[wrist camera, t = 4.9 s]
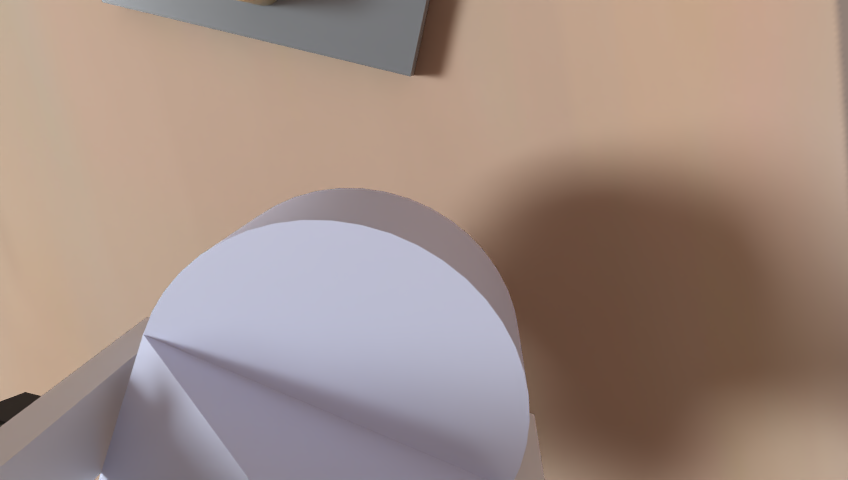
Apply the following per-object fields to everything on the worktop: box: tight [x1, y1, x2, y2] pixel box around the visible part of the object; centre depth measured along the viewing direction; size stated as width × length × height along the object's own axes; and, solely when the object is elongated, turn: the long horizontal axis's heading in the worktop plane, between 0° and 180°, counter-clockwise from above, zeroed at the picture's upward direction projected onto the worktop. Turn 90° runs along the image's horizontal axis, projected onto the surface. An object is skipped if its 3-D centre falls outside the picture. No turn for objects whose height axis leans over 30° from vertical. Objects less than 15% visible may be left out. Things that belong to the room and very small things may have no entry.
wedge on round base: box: [99, 188, 530, 480], centre depth 14 cm, size 9×7×13 cm
